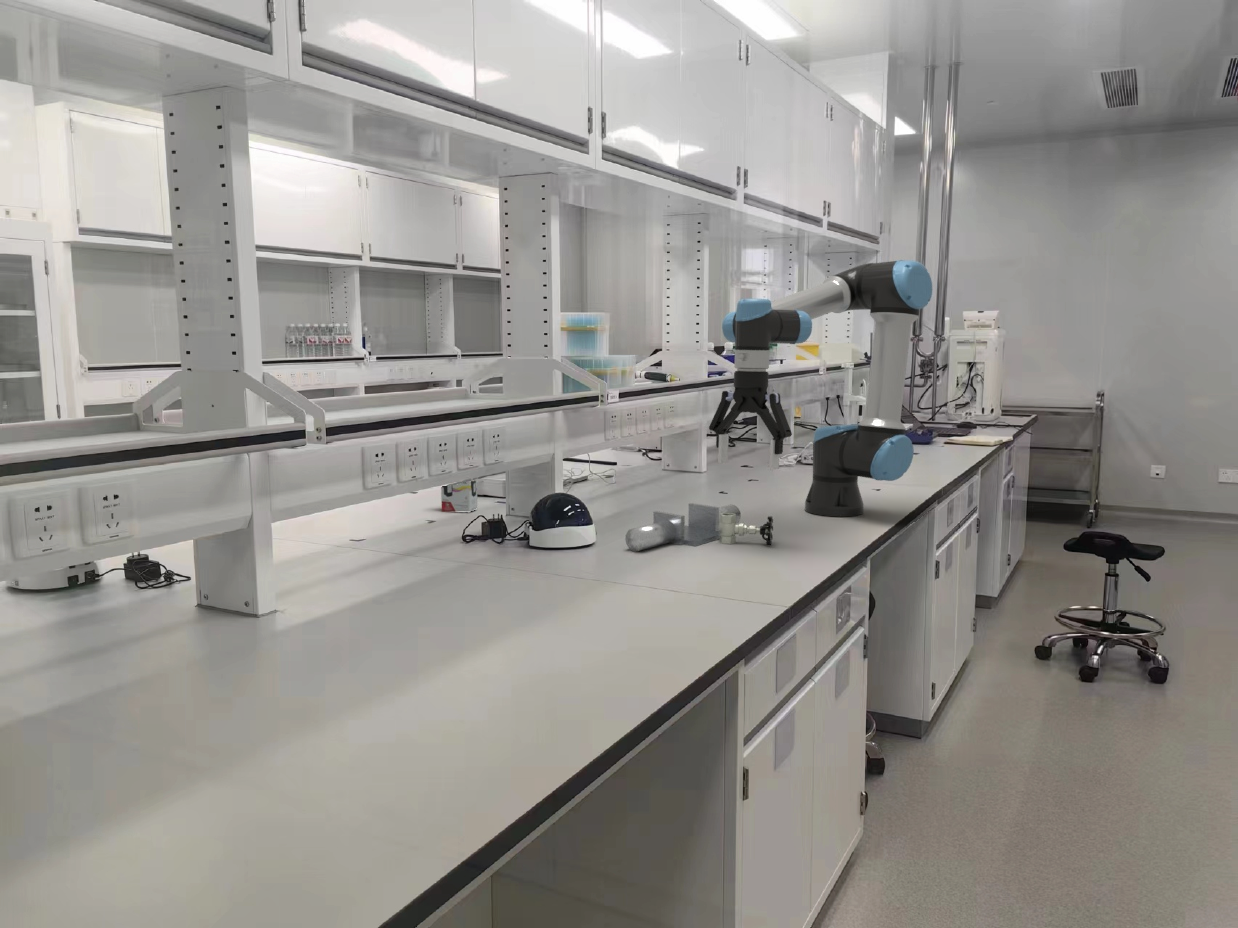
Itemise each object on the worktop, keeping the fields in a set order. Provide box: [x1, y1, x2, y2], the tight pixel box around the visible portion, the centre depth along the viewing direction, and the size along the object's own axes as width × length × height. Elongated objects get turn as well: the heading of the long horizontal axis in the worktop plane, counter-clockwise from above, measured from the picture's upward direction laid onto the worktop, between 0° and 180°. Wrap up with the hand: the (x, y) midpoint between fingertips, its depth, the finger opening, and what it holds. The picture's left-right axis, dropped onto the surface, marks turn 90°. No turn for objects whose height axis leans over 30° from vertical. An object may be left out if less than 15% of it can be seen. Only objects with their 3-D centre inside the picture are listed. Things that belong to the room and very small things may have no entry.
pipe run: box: [624, 502, 742, 552], centre depth 204 cm, size 37×14×6 cm, turn 138°
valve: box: [718, 513, 774, 546], centre depth 198 cm, size 7×7×12 cm
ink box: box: [440, 479, 478, 512], centre depth 234 cm, size 9×5×12 cm, turn 73°
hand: (747, 466), depth 196 cm, fingers open, 13 cm apart
